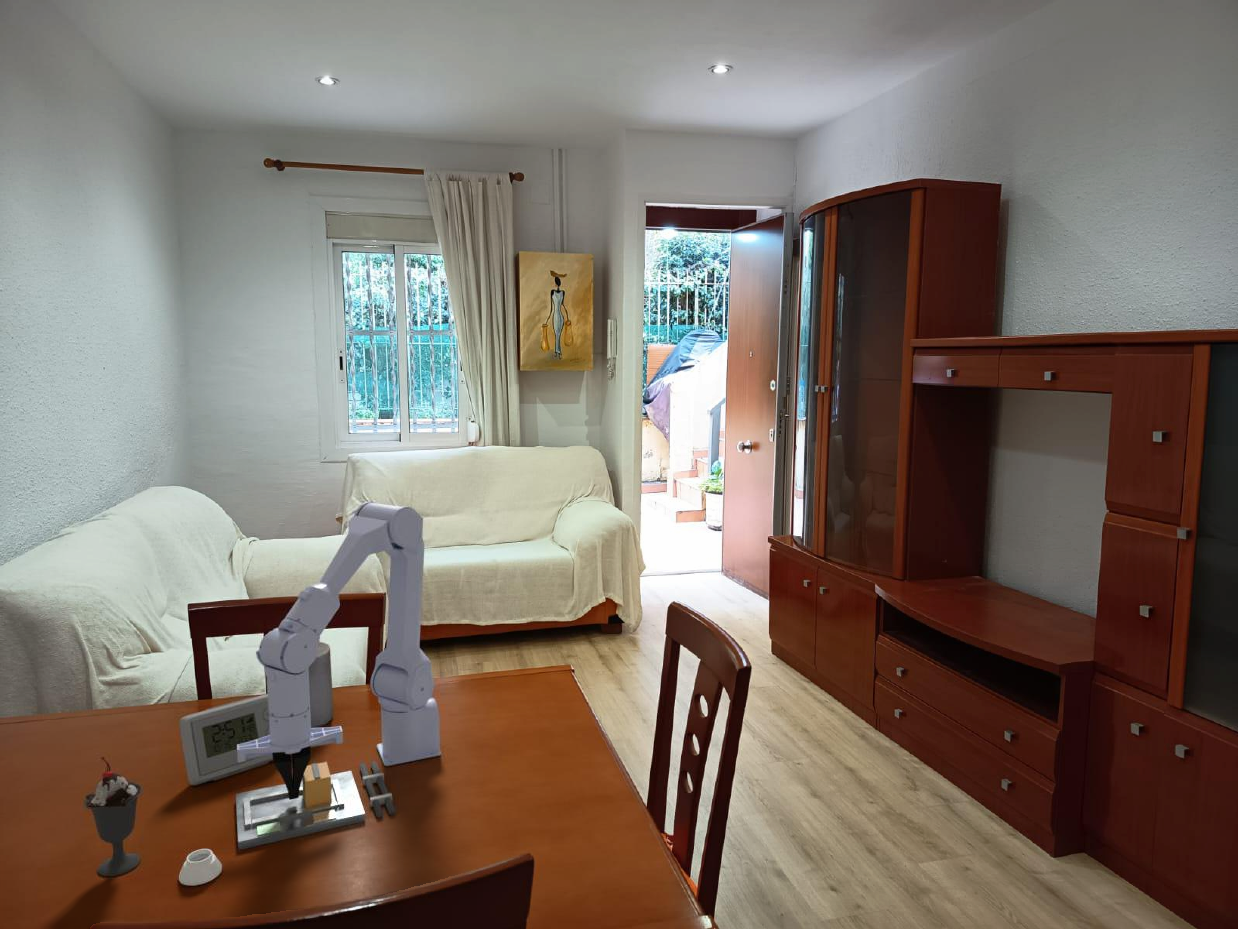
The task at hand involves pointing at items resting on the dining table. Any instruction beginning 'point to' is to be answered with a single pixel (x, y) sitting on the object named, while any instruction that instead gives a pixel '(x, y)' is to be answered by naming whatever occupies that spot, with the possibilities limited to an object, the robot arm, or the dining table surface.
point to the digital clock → (223, 738)
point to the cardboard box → (317, 785)
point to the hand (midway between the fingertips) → (293, 796)
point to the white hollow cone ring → (200, 868)
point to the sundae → (115, 819)
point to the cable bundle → (368, 781)
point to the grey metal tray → (295, 812)
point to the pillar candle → (321, 687)
